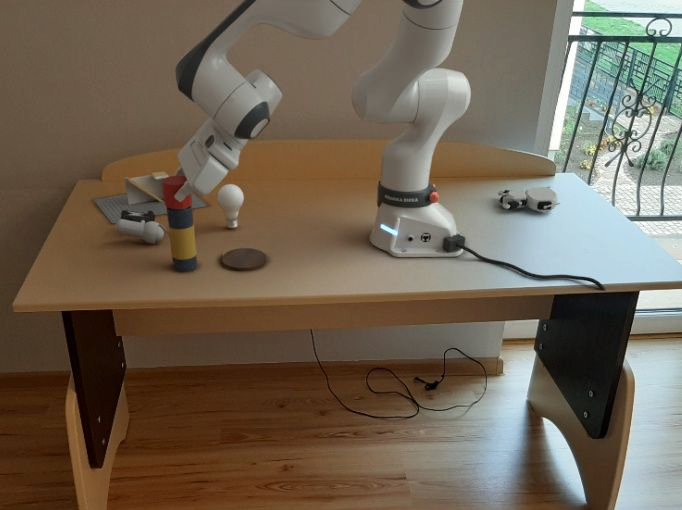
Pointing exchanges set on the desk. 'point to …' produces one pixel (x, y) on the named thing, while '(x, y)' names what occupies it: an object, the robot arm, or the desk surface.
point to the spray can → (182, 239)
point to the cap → (174, 192)
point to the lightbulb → (230, 203)
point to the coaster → (244, 259)
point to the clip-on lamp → (140, 226)
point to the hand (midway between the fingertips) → (174, 192)
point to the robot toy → (530, 199)
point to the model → (140, 197)
